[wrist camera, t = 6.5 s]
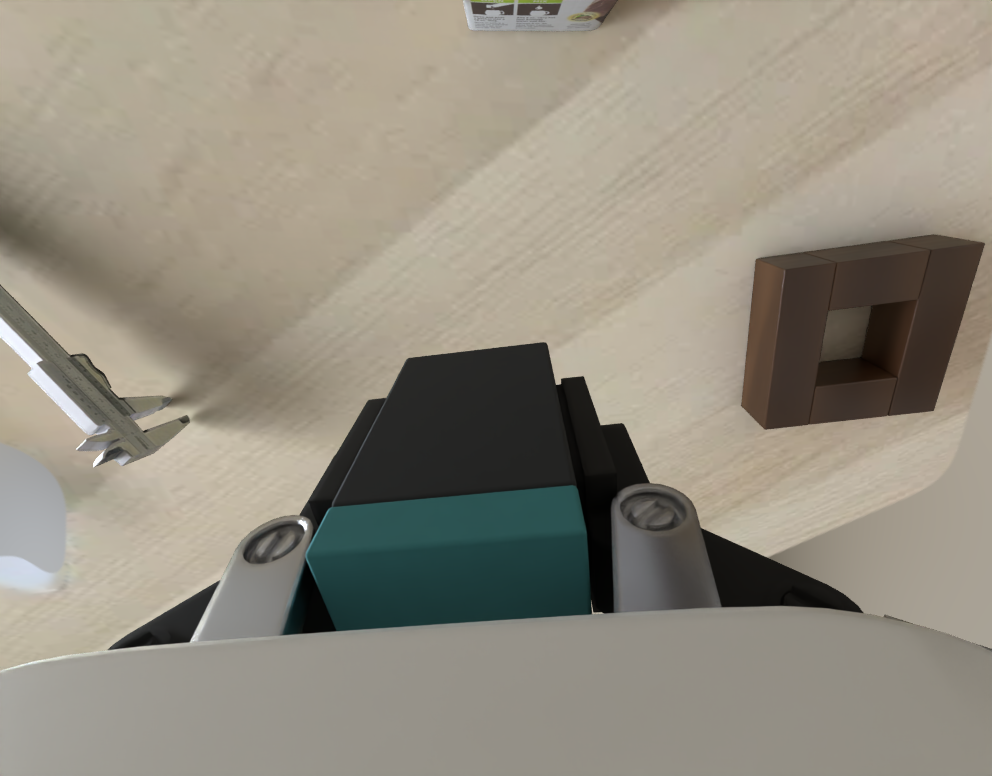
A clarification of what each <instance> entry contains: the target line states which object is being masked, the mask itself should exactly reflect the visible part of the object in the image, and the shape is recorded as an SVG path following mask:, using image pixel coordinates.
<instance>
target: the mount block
mask: <svg viewBox="0 0 992 776" xmlns="http://www.w3.org/2000/svg"><path fill="white" fill-rule="evenodd" d="M984 245H985V243H982V242H976V241H970V240H964V239H958V238H952V237H946V236H940V235H927V236H920V237H912V238H905V239H898V240H890V241H882V242H875V243H868V244H860V245H853V246H846V247H838V248H831V249H824V250H816V251H809V252H803V253H795V254H787V255H780V256H773V257H765V258H758V259H756V264H755V274H754V284H753V294H752V304H751V314H750V324H749V335H748V345H747V355H746V365H745V375H744V385H743V395H742V405H741V406H742V407H743V408H744V409H745V410H746V411H747V412H748V413H749V414H750V415H751V416H752V417H753V418H754V419H755V420H756V421H757V422H758V423H759V424H760V425H761V426H762V427H763V428H764V429H775V428H784V427H793V426H802V425H808V424H819V423H828V422H837V421H846V420H855V419H864V418H873V417H882V416H887V415H888V416H892V415H901V414H911V413H920V412H929V411H934V408H935V405H936V402H937V399H938V395H939V392H940V389H941V386H942V382H943V379H944V376H945V372H946V369H947V366H948V363H949V359H950V356H951V353H952V350H953V346H954V343H955V340H956V337H957V333H958V330H959V327H960V323H961V320H962V317H963V314H964V310H965V307H966V304H967V301H968V297H969V294H970V291H971V287H972V284H973V281H974V278H975V274H976V271H977V268H978V265H979V261H980V258H981V255H982V252H983V248H984ZM870 305H873V306H872V311H871V316H870V320H869V325H868V329H867V334H866V339H865V343H864V348H863V353H862V357H861V358H853V359H845V360H836V361H828V362H820V363H819V360H820V354H821V349H822V343H823V337H824V331H825V326H826V320H827V314H828V310H829V311H831V310H838V309H846V308H854V307H862V306H870Z"/></svg>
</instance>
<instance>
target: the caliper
mask: <svg viewBox="0 0 992 776" xmlns="http://www.w3.org/2000/svg"><path fill="white" fill-rule="evenodd" d="M0 337H1V338H2V339H3V340H4V341H5V342H6V343H7V344H8V345H9V346H10V347H11V348H12V349H13V350H14V351H15V352H16V353H17V354H18V355H19V356H20V357H21V358H22V359H23V360H24V361H25V362H26V363H27V364H28V365H29V366H30V367H31V368H32V369H31V370H30V372H29V373H28V375H29V376H30V377H31V378H32V379H33V380H34V381H35V382H36V383H37V384H38V385H39V386H40V387H41V388H42V389H43V390H44V391H45V392H46V393H47V394H48V395H49V396H50V397H51V398H52V399H53V401H54V402H55V403H56V404H57V405H58V406H59V407H60V408H61V409H62V410H63V411H64V412H65V413H66V414H67V415H68V416H69V417H70V418H71V419H72V420H73V421H74V422H75V423H76V424H77V425H78V426H79V427H80V428H81V429H82V430H83V431H84V432H85V433H86V434H88V435H93V434H95V433H96V434H98V435H95V436H93V437H90V438H87V439H86V440H85V441H84V442H83V443H82V444H81V445H80V446H79V447H78V448H77V450H78V451H99V450H103V449H106V448H107V449H106V450H105V451H104V452H103V453H102V454H101V455H100V456H99V457H98V458H97V459H96V460H95V462H94V464H93V466H94V467H96V466H98V465H101V464H103V463H105V462H108V461H110V460H112V459H114V460H115V461H116V462H118V463H119V464H120V465H121V466H124V465H126V464H129V463H131V462H134V461H136V460H139V459H141V458H144V457H146V456H149V455H151V454H153V453H155V452H156V451H157V450H158V449H160V448H161V447H162V446H163V445H165V444H166V443H167V442H168V441H170V440H171V439H172V438H173V437H174V436H176V435H177V434H178V433H179V432H180V431H181V430H182V429H183V428H184V427H185V426H187V425H188V424H189V423H190V420H189V417H188V416H187V415H186V416H183V417H181V418H178V419H176V420H173V421H170V422H167V423H164V424H161V425H159V426H156V427H153V428H150V429H147V430H144V431H142V430H141V428H140V427H139V426H138V425H137V424H136V423H135V422H134V420H137V419H139V418H142V417H145V416H148V415H151V414H153V413H155V412H156V411H159V410H162V409H163V408H165V407H166V406H167V405H168V404H169V403H170V402H171V401H172V400H173V399H171V398H169V397H165V396H146V397H125V398H119V397H118V396H117V395H116V394H115V393H114V392H113V391H111V390H110V388H111V386H110V384H109V382H108V380H107V378H106V376H105V374H104V373H103V372H102V371H100V370H99V369H97V368H96V367H95V366H94V365H93V364H92V362H91V360H90V359H89V357H88V356H87V355H85V354H75V355H69V354H68V353H67V352H66V351H65V350H64V349H63V348H62V347H61V346H60V345H59V344H58V343H57V342H56V341H55V340H54V339H53V338H52V337H51V336H50V335H49V334H48V333H47V331H46V330H45V329H44V328H43V327H42V326H41V325H40V324H39V323H38V322H37V321H36V320H35V319H34V318H33V317H32V316H31V315H30V314H29V313H28V312H27V311H26V310H25V309H24V308H23V307H22V306H21V305H20V304H19V303H18V302H17V301H16V300H15V299H14V298H13V297H12V296H11V295H10V294H9V293H8V292H7V291H6V290H5V289H4V288H3V287H2V286H1V285H0Z"/></svg>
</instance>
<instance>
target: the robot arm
mask: <svg viewBox="0 0 992 776" xmlns="http://www.w3.org/2000/svg"><path fill="white" fill-rule="evenodd" d="M556 388H557V393H558V398H559V403H560V407H561V412H562V417H563V422H564V427H565V431H566V436H567V441H568V446H569V451H570V455H571V460H572V465H573V470H574V474H575V479H576V484H577V489H578V493H579V498H580V502H581V507H582V512H583V517H584V522H585V526H586V531H587V545H588V560H589V576H590V591H591V601H592V607H593V612H594V613H595V612H602V613H604V614H591V615H575V616H559V617H543V618H527V619H512V620H496V621H481V622H466V623H451V624H437V625H422V626H407V627H393V628H378V629H364V630H350V631H336V628H335V626H334V624H333V621H332V619H331V617H330V614H329V612H328V609H327V607H326V605H325V602H324V600H323V598H322V595H321V593H320V591H319V588H318V586H317V584H316V581H315V579H314V577H313V574H312V572H311V569H310V567H309V565H308V562H307V560H306V551H307V549H308V547H309V545H310V544H311V542H312V540H313V538H314V536H315V534H316V532H317V530H318V528H319V526H320V524H321V522H322V520H323V519H324V517H325V515H326V513H327V511H328V509H330V508H332V502H333V500H334V498H335V497H336V495H337V493H338V491H339V489H340V487H341V485H342V483H343V481H344V479H345V477H346V475H347V473H348V471H349V470H350V468H351V466H352V464H353V462H354V460H355V458H356V456H357V454H358V452H359V450H360V448H361V446H362V444H363V443H364V441H365V439H366V437H367V435H368V433H369V431H370V429H371V427H372V425H373V423H374V421H375V419H376V417H377V416H378V414H379V412H380V410H381V408H382V406H383V404H384V402H385V400H386V398H382V399H372V400H368V401H367V403H366V405H365V406H364V408H363V410H362V411H361V413H360V415H359V417H358V418H357V420H356V422H355V423H354V425H353V427H352V428H351V430H350V432H349V433H348V435H347V437H346V439H345V440H344V442H343V444H342V445H341V447H340V449H339V450H338V452H337V454H336V455H335V456H334V458H333V459H332V461H331V463H330V464H329V466H328V468H327V470H326V471H325V473H324V475H323V476H322V478H321V480H320V481H319V483H318V485H317V486H316V488H315V490H314V491H313V493H312V495H311V497H310V498H309V500H308V502H307V503H306V505H305V507H304V508H303V510H302V512H301V513H300V515H299V516H298V515H290V516H283V517H280V518H276V519H273V520H271V521H268V522H266V523H264V524H262V525H260V526H259V527H257V528H256V529H254V530H253V531H251V532H250V533H249V534H248V535H247V536H246V537H245V538H244V539H243V540H242V541H241V542H240V544H239V545H238V547H237V548H236V550H235V552H234V554H233V556H232V558H231V560H230V562H229V564H228V566H227V568H226V570H225V572H224V574H223V576H222V578H221V580H219V581H218V582H216V583H214V584H213V585H211V586H209V587H207V588H206V589H204V590H202V591H201V592H199V593H197V594H196V595H194V596H192V597H191V598H189V599H187V600H185V601H184V602H182V603H180V604H179V605H177V606H175V607H174V608H172V609H170V610H169V611H167V612H165V613H163V614H162V615H160V616H158V617H157V618H155V619H153V620H152V621H150V622H148V623H147V624H145V625H143V626H141V627H140V628H138V629H136V630H135V631H133V632H131V633H130V634H128V635H127V636H125V637H124V638H122V639H121V640H119V641H118V642H116V643H115V644H114V645H112V646H111V647H110V648H109V649H108V650H106V651H97V652H88V653H80V654H71V655H65V656H60V657H55V658H49V659H44V660H39V661H34V662H30V663H26V664H23V665H19V666H15V667H12V668H8V669H5V670H1V671H0V776H992V649H990V648H987V647H984V646H981V645H977V644H975V643H971V642H969V641H966V640H963V639H960V638H958V637H955V636H952V635H950V634H946V633H943V632H940V631H937V630H934V629H930V628H927V627H924V626H920V625H916V624H913V623H909V622H906V621H903V620H900V619H897V618H894V617H891V616H888V615H884V617H881V616H877V615H872V614H865V613H863V612H862V611H861V609H860V608H859V606H858V605H856V604H855V603H854V602H853V601H851V600H850V599H849V598H848V597H847V596H846V595H844V594H843V593H841V592H839V591H838V590H836V589H834V588H832V587H830V586H829V585H827V584H825V583H822V582H820V581H818V580H816V579H813V578H811V577H809V576H807V575H804V574H802V573H800V572H798V571H796V570H793V569H791V568H789V567H787V566H784V565H782V564H780V563H778V562H776V561H773V560H771V559H769V558H767V557H764V556H762V555H760V554H758V553H756V552H753V551H751V550H749V549H747V548H744V547H742V546H740V545H738V544H735V543H733V542H731V541H729V540H727V539H724V538H722V537H720V536H718V535H715V534H713V533H711V532H709V531H706V530H704V529H702V528H701V527H700V523H699V520H698V516H697V512H696V509H695V507H694V505H693V503H692V501H691V500H690V499H689V498H688V497H687V496H686V495H684V494H683V493H681V492H680V491H678V490H676V489H674V488H671V487H668V486H665V485H662V484H653V483H650V482H649V480H648V478H647V476H646V473H645V471H644V469H643V466H642V464H641V462H640V459H639V457H638V455H637V453H636V450H635V448H634V446H633V443H632V441H631V439H630V437H629V434H628V432H627V430H626V427H625V426H624V424H622V423H620V424H610V425H600V423H599V420H598V417H597V414H596V411H595V408H594V405H593V402H592V399H591V396H590V394H589V391H588V388H587V385H586V382H585V379H584V377H583V376H581V377H572V378H563V379H561V384H560V385H556Z"/></svg>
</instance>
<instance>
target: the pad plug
mask: <svg viewBox="0 0 992 776" xmlns="http://www.w3.org/2000/svg"><path fill="white" fill-rule="evenodd" d="M306 560H307V562H308V565H309V567H310V569H311V572H312V574H313V577H314V579H315V581H316V584H317V586H318V588H319V591H320V593H321V595H322V598H323V600H324V602H325V605H326V607H327V609H328V612H329V614H330V617H331V619H332V621H333V624H334V626H335V628H336V631H350V630H364V629H378V628H393V627H407V626H422V625H437V624H451V623H466V622H481V621H496V620H512V619H527V618H543V617H559V616H575V615H591V614H592V607H591V591H590V576H589V560H588V545H587V531H586V526H585V522H584V517H583V512H582V507H581V502H580V498H579V493H578V489H577V484H576V479H575V474H574V470H573V465H572V460H571V455H570V451H569V446H568V441H567V436H566V431H565V427H564V422H563V417H562V412H561V407H560V403H559V398H558V393H557V388H556V384H555V379H554V374H553V369H552V364H551V360H550V355H549V350H548V345H547V343H544V342H542V343H534V344H525V345H517V346H508V347H499V348H491V349H482V350H474V351H465V352H457V353H448V354H440V355H431V356H422V357H414V358H408V359H407V360H406V362H405V363H404V365H403V367H402V369H401V371H400V373H399V375H398V377H397V379H396V381H395V383H394V385H393V387H392V389H391V390H390V392H389V394H388V396H387V398H386V400H385V402H384V404H383V406H382V408H381V410H380V412H379V414H378V416H377V417H376V419H375V421H374V423H373V425H372V427H371V429H370V431H369V433H368V435H367V437H366V439H365V441H364V443H363V444H362V446H361V448H360V450H359V452H358V454H357V456H356V458H355V460H354V462H353V464H352V466H351V468H350V470H349V471H348V473H347V475H346V477H345V479H344V481H343V483H342V485H341V487H340V489H339V491H338V493H337V495H336V497H335V498H334V500H333V502H332V508H330V509H328V511H327V513H326V515H325V517H324V519H323V520H322V522H321V524H320V526H319V528H318V530H317V532H316V534H315V536H314V538H313V540H312V542H311V544H310V545H309V547H308V549H307V551H306Z"/></svg>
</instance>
